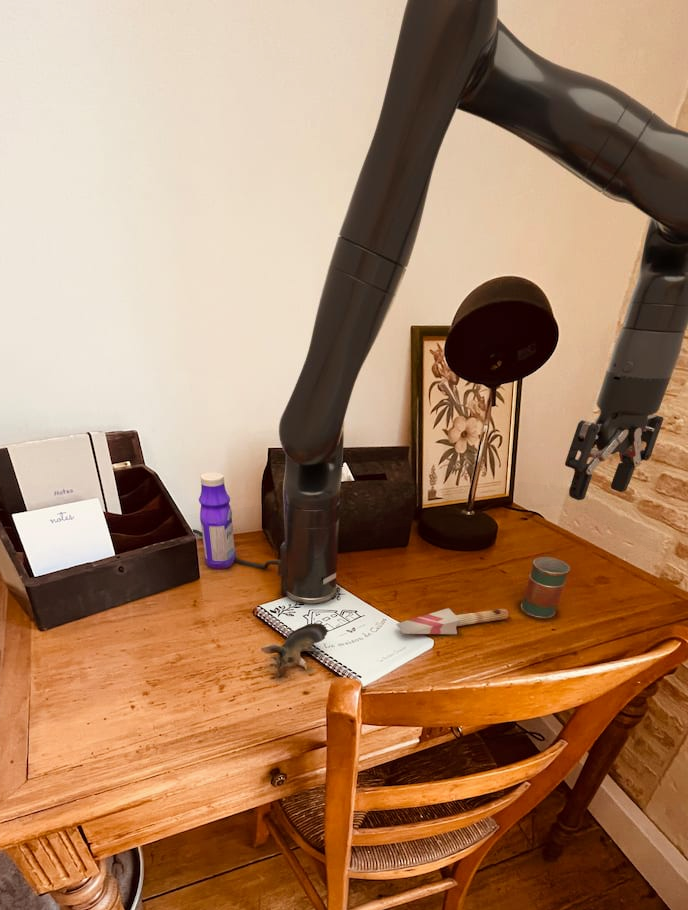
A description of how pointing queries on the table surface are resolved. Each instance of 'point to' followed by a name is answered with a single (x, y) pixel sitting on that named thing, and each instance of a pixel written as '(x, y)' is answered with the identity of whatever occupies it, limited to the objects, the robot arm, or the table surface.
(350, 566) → the table surface
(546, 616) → the tin can
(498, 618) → the paintbrush
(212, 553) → the bottle
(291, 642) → the bushy tailed squirrel toy
